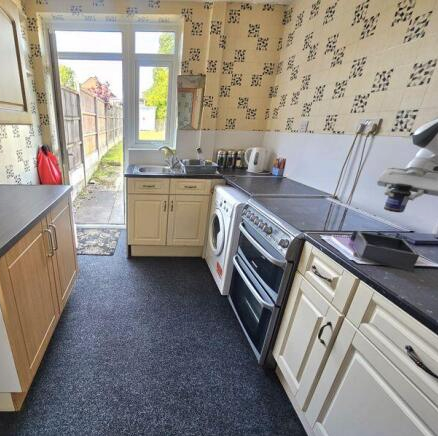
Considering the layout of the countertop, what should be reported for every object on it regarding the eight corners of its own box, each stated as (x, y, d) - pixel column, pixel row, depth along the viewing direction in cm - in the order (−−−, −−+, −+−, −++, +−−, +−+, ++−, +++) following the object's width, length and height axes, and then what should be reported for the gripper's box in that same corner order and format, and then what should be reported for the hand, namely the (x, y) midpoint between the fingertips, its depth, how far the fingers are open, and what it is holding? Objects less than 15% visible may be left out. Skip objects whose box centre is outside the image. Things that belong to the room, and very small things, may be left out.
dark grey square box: (396, 255, 93) (404, 239, 90) (410, 273, 82) (419, 255, 79) (352, 246, 99) (358, 231, 96) (359, 262, 88) (366, 244, 85)
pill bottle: (379, 208, 104) (389, 183, 100) (390, 207, 106) (400, 182, 102) (396, 213, 99) (407, 186, 95) (407, 212, 100) (418, 186, 96)
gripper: (386, 162, 107) (367, 186, 107) (456, 170, 90) (433, 198, 90) (388, 171, 111) (369, 195, 110) (455, 181, 93) (433, 208, 93)
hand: (398, 196), depth 100 cm, fingers closed on pill bottle, 6 cm apart
